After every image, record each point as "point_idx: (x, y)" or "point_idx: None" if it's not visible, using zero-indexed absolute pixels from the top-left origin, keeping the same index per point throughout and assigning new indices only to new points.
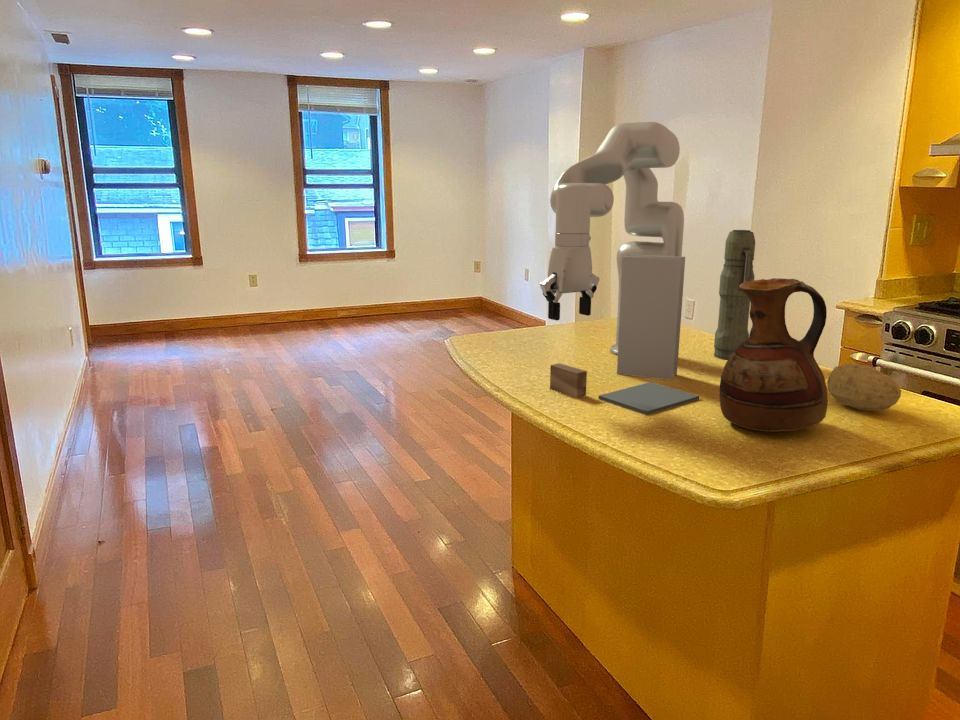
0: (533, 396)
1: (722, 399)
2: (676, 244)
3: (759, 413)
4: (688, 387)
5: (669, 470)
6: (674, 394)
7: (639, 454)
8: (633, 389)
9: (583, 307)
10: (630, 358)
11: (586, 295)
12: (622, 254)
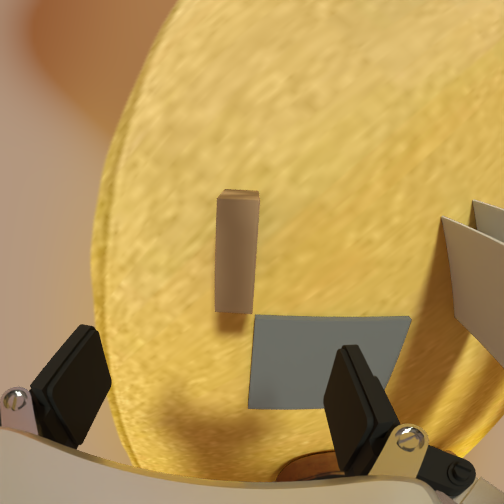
0: (151, 209)
1: (290, 480)
2: None
3: None
4: (427, 356)
5: (138, 459)
6: None
7: (136, 440)
8: (345, 333)
9: (340, 402)
10: (468, 256)
11: (361, 475)
12: None
